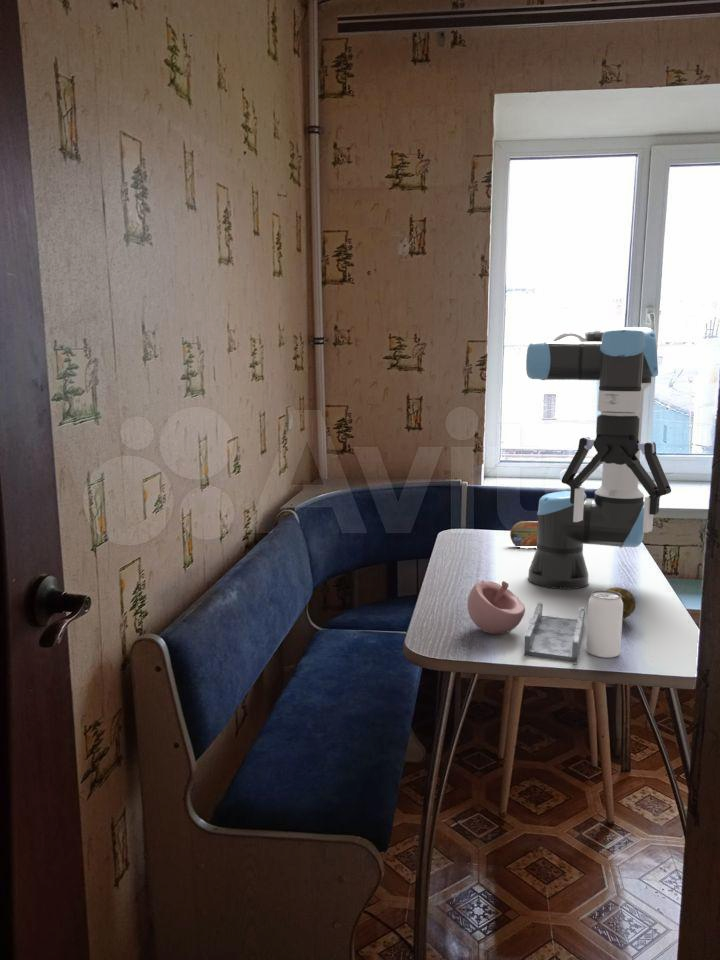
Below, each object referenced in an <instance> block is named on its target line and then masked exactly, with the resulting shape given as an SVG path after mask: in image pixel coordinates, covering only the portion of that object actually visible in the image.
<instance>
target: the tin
mask: <svg viewBox="0 0 720 960" xmlns="http://www.w3.org/2000/svg"><path fill="white" fill-rule="evenodd" d="M537 529H538V520H537V521H534V520H533V521H531V520H528V521H527V520H526V521H525V520H524V521H523V520H521V521H519V522H517V523H515V524H514V525H513V526H512V527H511V530H510V533H509V534H510V535H509V537H510V539H511V542H512V543H513V545H514V546H515V547H516V546H537Z"/></svg>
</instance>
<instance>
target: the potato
mask: <svg viewBox="0 0 720 960" xmlns="http://www.w3.org/2000/svg"><path fill="white" fill-rule="evenodd" d="M605 590H609V591H614V592H617V593H619V594H621V599H622V602H623V618H622V619H626V618H628V617H630V615H631V614H633V613H634V611H635V610H636V606H637V605H636V604H637V603H636V599H635V596H633V594H632V592H630V591H629V590H627V589H626V588H620V587H609V588H607V589H605ZM591 596H592V594H591V595H590V597H591ZM590 597H589V598H590Z"/></svg>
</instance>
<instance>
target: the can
mask: <svg viewBox="0 0 720 960" xmlns="http://www.w3.org/2000/svg"><path fill="white" fill-rule="evenodd" d="M591 595H592V596H591ZM591 595H590V596H591V597H589V599H588V608H587V609H588V610H587V611H588V612H587V622H586V623H587V626H586V630H587V631H586V648H585V649H586V651H587V652H588V654H590V655H591V656H594V657H597V658H601V659H614V658H617V657H618V656H620V654H621V648H622V646H621V645H622V631H623V619H624V618H623V602H622V599H621V594H619V593H617V592H614V591H609V590H606V589H597V590H593V591H591Z"/></svg>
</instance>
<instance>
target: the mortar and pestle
mask: <svg viewBox="0 0 720 960" xmlns="http://www.w3.org/2000/svg"><path fill="white" fill-rule="evenodd" d="M525 607H526V606H525V604H524V603H523V601H522V600H521V599H520V598H519V596H517V595H516V594H514V592H512V591H511V590H510V589H509V582H507V581H505V580H502V582H501V584H499V583H497V582H495V581H491V580H479V581H478V582H477V583H475V584H474V586H473V587H472V588H471V589H470V592H469V594H468V597H467V606H466V608H467V613H468V614H469V617H470V619H471V621H472V623H473V624H475V626H477V628H478V629H480V630H481V631H482V632H485V633H488V634H492V635H502V634H506V633H508V632H511V631H512V630H514V629H515V628H516V627H517V626H518V625H519V624H520V623H521V621H522V620H523V619H524V615H525V612H526V608H525Z"/></svg>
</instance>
